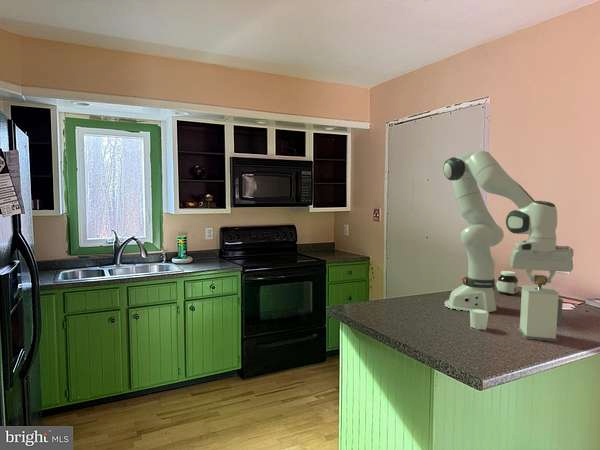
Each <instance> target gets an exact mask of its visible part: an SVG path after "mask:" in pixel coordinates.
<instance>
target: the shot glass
mask: <svg viewBox="0 0 600 450" xmlns="http://www.w3.org/2000/svg"><path fill="white" fill-rule="evenodd" d="M489 313H490V312H488V311H486V310H482V309H470V312H469V319H470V320H469V321H470V322H469V323H470V328H471V327H473V328H476V329H486V330H487V325H488V321H489V320H488V319H489Z"/></svg>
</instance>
